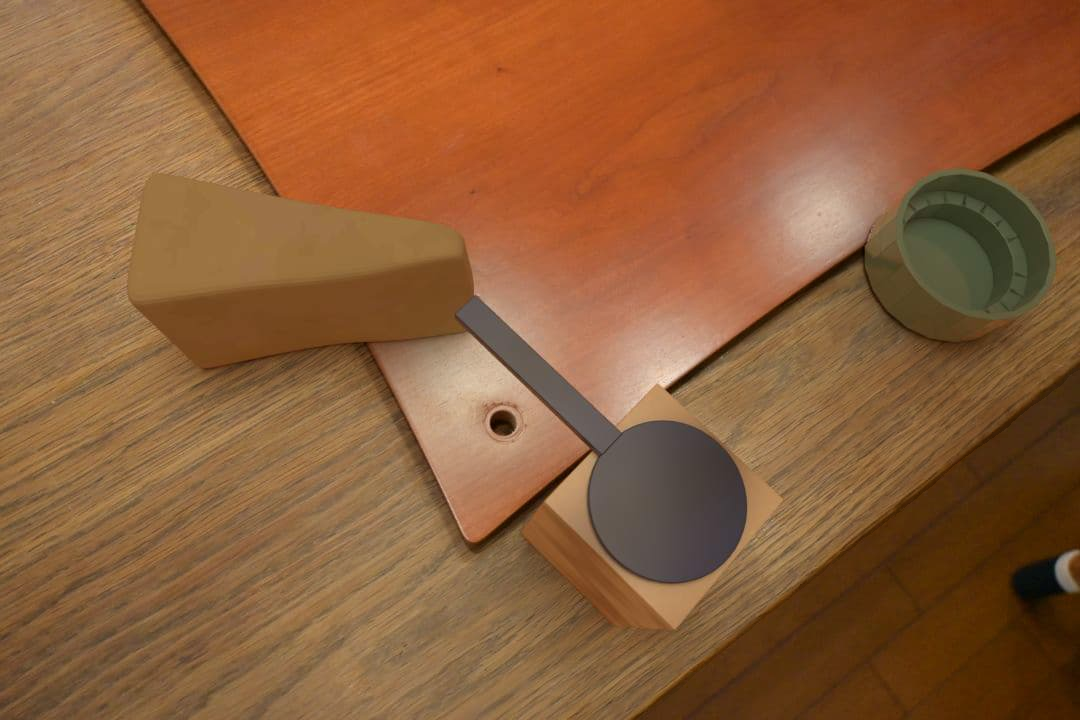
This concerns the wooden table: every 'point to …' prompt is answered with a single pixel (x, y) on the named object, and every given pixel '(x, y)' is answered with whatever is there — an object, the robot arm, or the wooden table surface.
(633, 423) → the spoon stand
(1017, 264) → the green round bowl
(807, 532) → the wooden table surface
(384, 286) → the tan wooden wedge
